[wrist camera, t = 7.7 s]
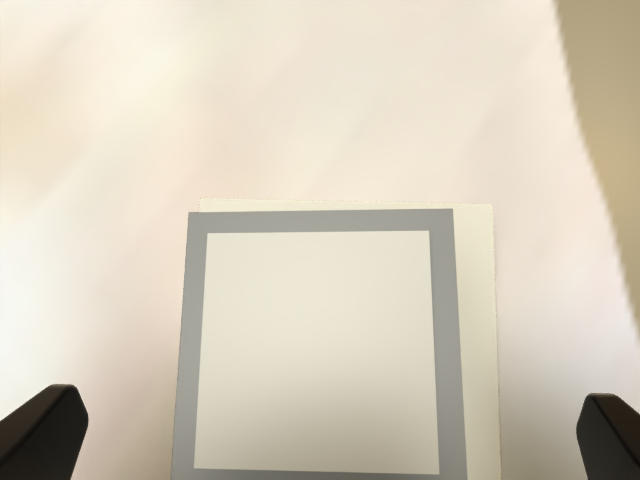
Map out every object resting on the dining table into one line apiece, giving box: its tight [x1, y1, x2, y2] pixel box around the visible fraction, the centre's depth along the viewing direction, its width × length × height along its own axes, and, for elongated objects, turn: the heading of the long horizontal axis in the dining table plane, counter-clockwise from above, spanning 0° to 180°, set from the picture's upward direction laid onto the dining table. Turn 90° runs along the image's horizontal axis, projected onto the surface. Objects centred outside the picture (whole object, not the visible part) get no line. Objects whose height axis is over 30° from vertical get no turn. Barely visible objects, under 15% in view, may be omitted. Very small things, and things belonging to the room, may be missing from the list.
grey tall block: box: [171, 208, 468, 480], centre depth 12 cm, size 4×4×9 cm
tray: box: [199, 198, 501, 480], centre depth 16 cm, size 9×9×3 cm
